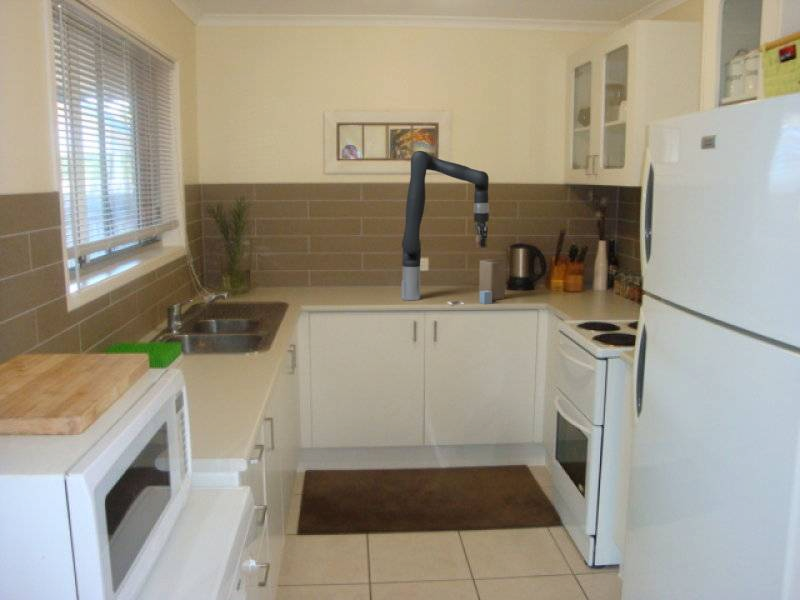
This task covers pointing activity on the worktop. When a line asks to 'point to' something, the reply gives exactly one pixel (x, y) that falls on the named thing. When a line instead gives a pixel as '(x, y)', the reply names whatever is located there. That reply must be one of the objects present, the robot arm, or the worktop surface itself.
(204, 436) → the worktop surface
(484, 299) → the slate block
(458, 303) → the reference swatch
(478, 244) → the walnut block
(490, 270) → the wooden block
